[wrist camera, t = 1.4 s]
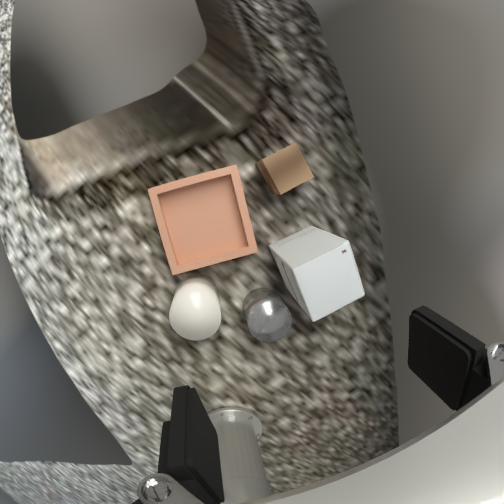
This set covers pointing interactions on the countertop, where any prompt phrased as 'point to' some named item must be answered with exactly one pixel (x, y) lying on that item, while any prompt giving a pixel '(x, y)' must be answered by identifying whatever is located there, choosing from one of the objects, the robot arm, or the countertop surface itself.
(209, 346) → the countertop surface
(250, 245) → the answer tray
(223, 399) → the countertop surface
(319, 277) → the supplement box
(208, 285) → the white rounded lump
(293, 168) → the walnut block
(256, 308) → the grey tin
